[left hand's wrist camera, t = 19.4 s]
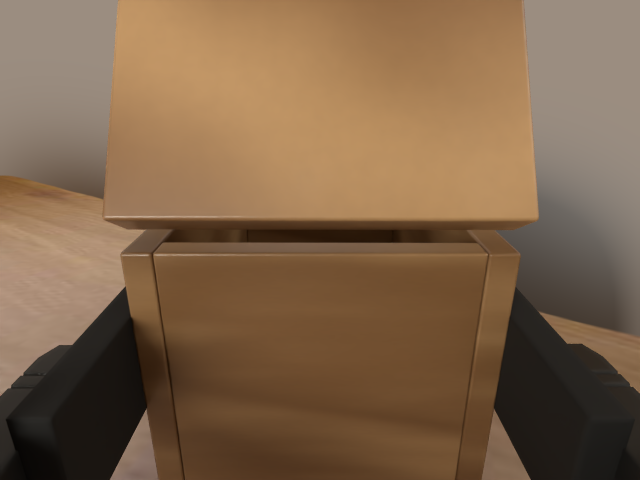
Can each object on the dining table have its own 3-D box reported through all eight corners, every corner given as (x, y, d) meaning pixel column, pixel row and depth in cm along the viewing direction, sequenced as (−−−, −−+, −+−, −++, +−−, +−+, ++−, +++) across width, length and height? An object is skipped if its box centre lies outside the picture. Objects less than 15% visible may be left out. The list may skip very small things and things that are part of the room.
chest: (241, 317, 26) (230, 151, 22) (398, 317, 26) (410, 151, 22) (169, 546, 13) (118, 253, 10) (470, 546, 13) (522, 253, 10)
